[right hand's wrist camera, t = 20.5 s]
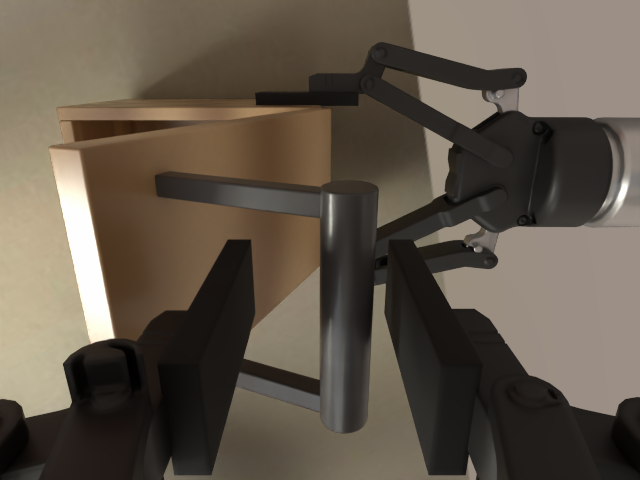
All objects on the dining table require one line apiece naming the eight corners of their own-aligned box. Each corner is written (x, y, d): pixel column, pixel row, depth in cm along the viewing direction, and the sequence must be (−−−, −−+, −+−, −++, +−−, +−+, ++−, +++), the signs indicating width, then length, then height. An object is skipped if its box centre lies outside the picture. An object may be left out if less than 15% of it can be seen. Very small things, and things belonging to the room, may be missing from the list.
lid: (107, 427, 14) (334, 520, 11) (46, 145, 11) (340, 171, 8) (313, 253, 29) (438, 274, 26) (312, 107, 25) (455, 111, 22)
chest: (143, 207, 39) (85, 252, 29) (127, 99, 35) (55, 107, 26) (319, 207, 39) (321, 251, 29) (319, 99, 36) (322, 107, 26)
